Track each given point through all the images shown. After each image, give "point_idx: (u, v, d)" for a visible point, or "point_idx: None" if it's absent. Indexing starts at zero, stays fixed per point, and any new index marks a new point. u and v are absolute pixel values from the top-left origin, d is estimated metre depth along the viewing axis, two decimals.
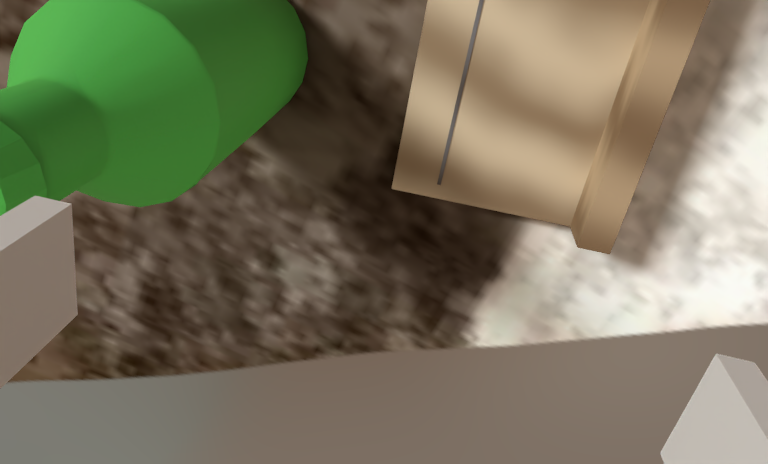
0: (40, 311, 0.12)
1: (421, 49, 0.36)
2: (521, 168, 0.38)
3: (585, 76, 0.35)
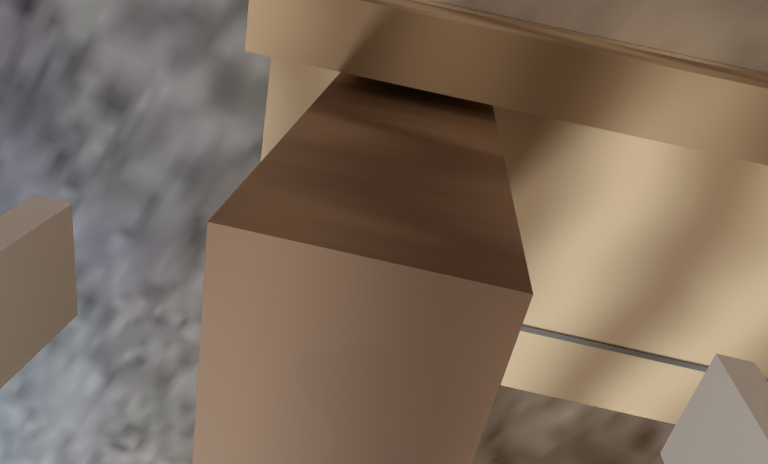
0: (40, 311, 0.12)
1: None
2: None
3: None
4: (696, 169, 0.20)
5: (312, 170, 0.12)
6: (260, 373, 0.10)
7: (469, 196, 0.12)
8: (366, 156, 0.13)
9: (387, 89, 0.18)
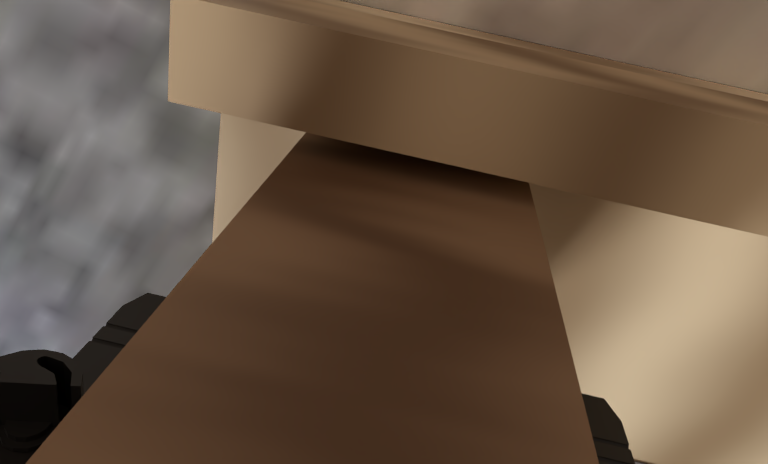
0: None
1: None
2: None
3: None
4: None
5: (213, 372, 0.06)
6: None
7: (508, 412, 0.06)
8: (325, 315, 0.07)
9: (377, 151, 0.13)
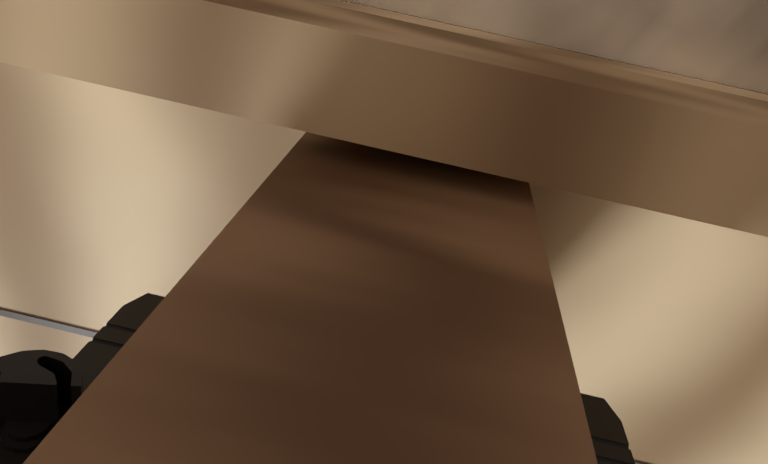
0: None
1: None
2: None
3: (699, 261, 0.15)
4: None
5: (212, 371, 0.06)
6: None
7: (507, 412, 0.06)
8: (324, 314, 0.07)
9: (377, 150, 0.13)
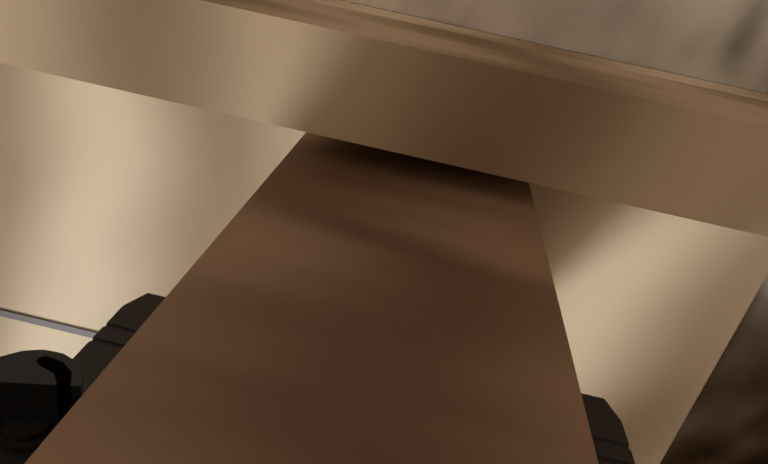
0: None
1: None
2: (611, 314, 0.16)
3: None
4: (181, 113, 0.15)
5: (213, 371, 0.06)
6: None
7: (508, 412, 0.06)
8: (324, 314, 0.07)
9: (377, 151, 0.13)
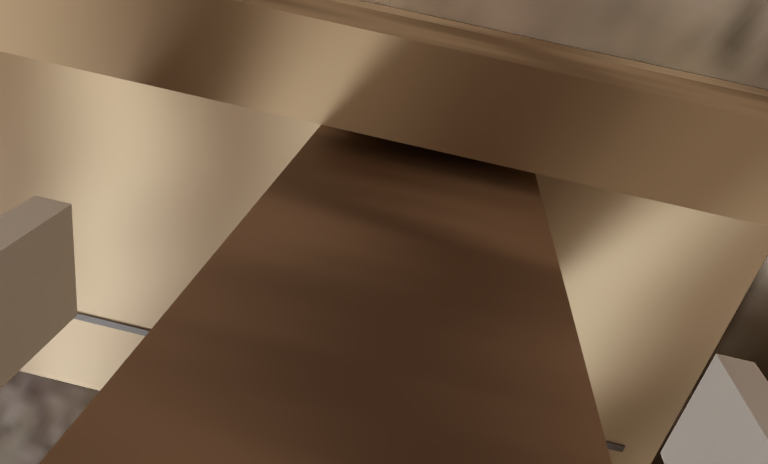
0: (40, 311, 0.12)
1: None
2: (610, 303, 0.16)
3: None
4: (193, 107, 0.16)
5: (244, 340, 0.07)
6: None
7: (518, 379, 0.07)
8: (344, 292, 0.08)
9: (389, 143, 0.13)
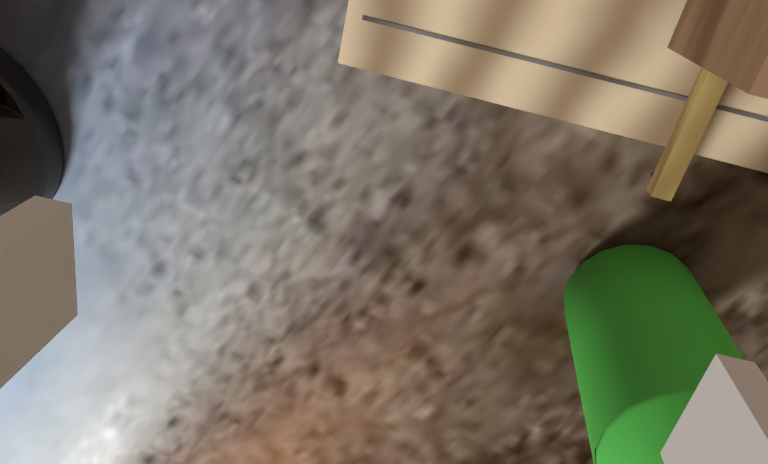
0: (40, 311, 0.12)
1: None
2: None
3: None
4: None
5: None
6: None
7: None
8: None
9: None
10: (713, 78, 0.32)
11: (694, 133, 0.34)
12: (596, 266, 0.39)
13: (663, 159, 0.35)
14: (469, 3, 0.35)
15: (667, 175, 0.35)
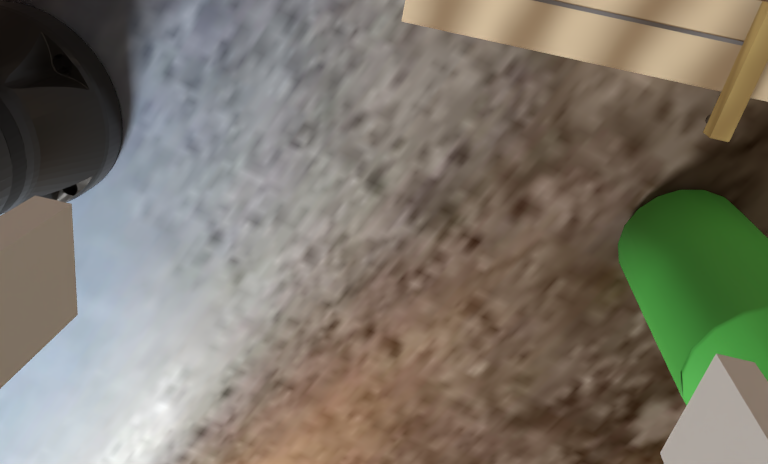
0: (40, 311, 0.12)
1: (721, 88, 0.38)
2: None
3: None
4: None
5: None
6: None
7: None
8: None
9: None
10: None
11: (753, 73, 0.35)
12: (653, 211, 0.41)
13: (721, 101, 0.37)
14: None
15: (726, 116, 0.36)
